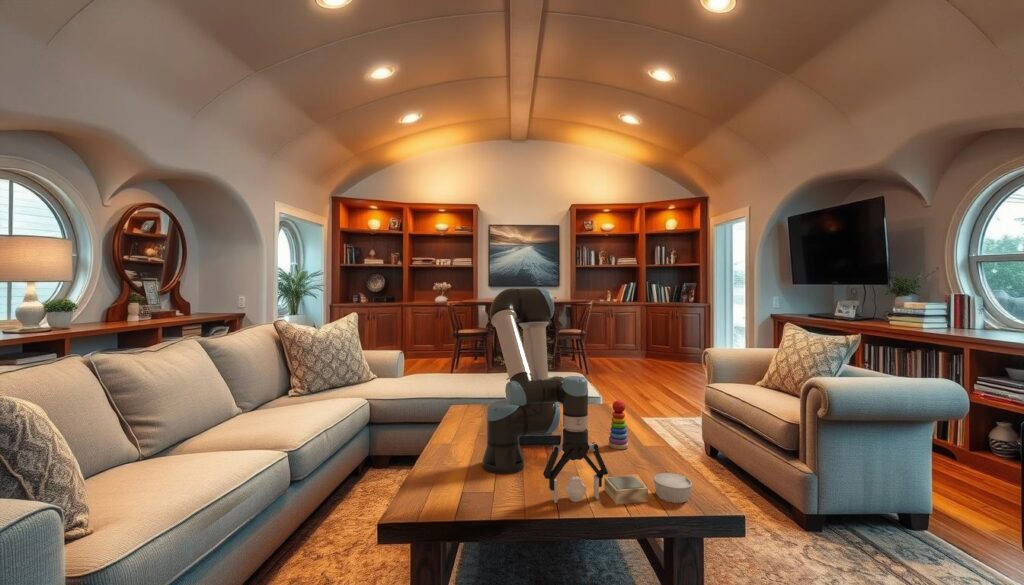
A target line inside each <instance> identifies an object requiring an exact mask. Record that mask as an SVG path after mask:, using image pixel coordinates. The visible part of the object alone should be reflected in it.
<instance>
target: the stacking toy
mask: <svg viewBox="0 0 1024 585" xmlns="http://www.w3.org/2000/svg"><path fill="white" fill-rule="evenodd" d="M625 409H626V405H625V402H624V401H622V400H618V399H616V400H615V401H614V402H612V410H613V411H614V412H612V417H611V419H610V420H611V422H610V425H611V426H610V432H609V437H608V441H609V442H608V446H609V448H610V449H611V448H612V449H615V450H625V449H627V448H629V443H628V433H627V431H628V429H627V424H626V418H625V417H626V414H625V412H624V411H625Z"/></svg>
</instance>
